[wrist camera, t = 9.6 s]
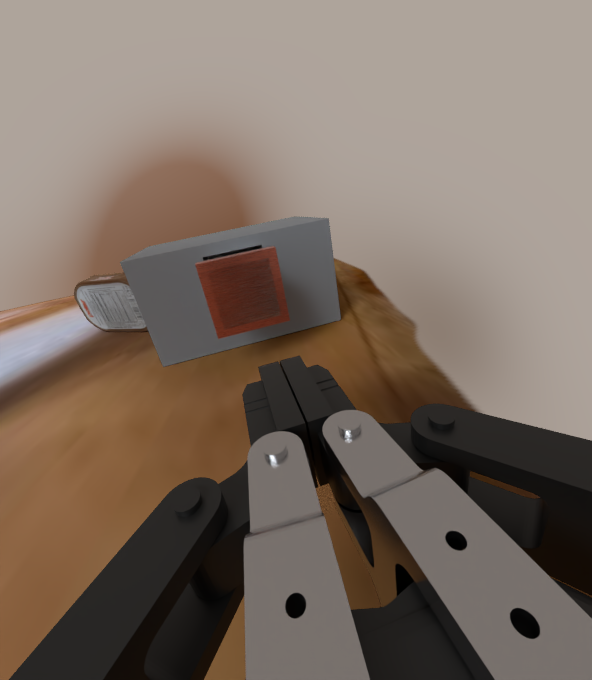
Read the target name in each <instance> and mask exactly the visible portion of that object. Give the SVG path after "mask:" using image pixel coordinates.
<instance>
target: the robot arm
mask: <svg viewBox="0 0 592 680" xmlns="http://www.w3.org/2000/svg"><path fill="white" fill-rule="evenodd" d="M258 368H259V372H260V376H261V380H262V381H258V382H254V383H251V384H247V386H246V388H245V390H244V392H243V394H242V395H243V401H244V407H245V413H246V419H247V425H248V431H249V438H250V444H251V448H250V450H249V453H248V460H247V461H246V463H245V464H244V465H243V467H242V468H241V469H240V470H239V471H237V472H236V473H235V474H233V475H232V476H231V477H229V478H227V479H226V480H224V481H222V482H221V483H219V484H217V482H215V481H214V480H212V479H210V478H201V477H200V478H194V479H191V480H188V481H186V482H184V483H182V484H180V485H178V486H177V487H175V488H174V489H173V490H172V491H171V492H169V494H168V495H167V496H166V497H165V498H164V499H163V500H162V501H161V503H160V504H159V505H158V506H157V507H156V508H155V510H154V511H153V512H152V513H151V514H150V515H149V517H148V518H147V519H146V520H145V521H144V522H143V524H142V525H141V526H140V527H139V528H138V529H137V531H136V532H135V533H134V534H133V535H132V536H131V538H130V539H129V540H128V541H127V542H126V543H125V545H124V546H123V547H122V548H121V549H120V550H119V552H118V553H117V554H116V555H115V556H114V557H113V559H112V560H111V561H110V562H109V563H108V564H107V566H106V567H105V568H104V569H103V570H102V571H101V573H100V574H99V575H98V576H97V577H96V578H95V580H94V581H93V582H92V583H91V584H90V585H89V587H88V588H87V589H86V590H85V591H84V592H83V594H82V595H81V596H80V597H79V598H78V599H77V601H76V602H75V603H74V604H73V605H72V606H71V608H70V609H69V610H68V611H67V612H66V613H65V615H64V616H63V617H62V618H61V619H60V620H59V622H58V623H57V624H56V625H55V626H54V627H53V629H52V630H51V631H50V632H49V633H48V634H47V636H46V637H45V638H44V639H43V640H42V641H41V643H40V644H39V645H38V646H37V647H36V648H35V650H34V651H33V652H32V653H31V654H30V655H29V657H28V658H27V659H26V660H25V661H24V662H23V664H22V665H21V666H20V667H19V668H18V669H17V671H16V672H15V673H14V674H13V675H12V676H11V678H10V679H9V680H204V678H205V676H206V674H207V672H208V670H209V667H210V665H211V663H212V661H213V659H214V657H215V655H216V653H217V651H218V649H219V646H220V644H221V642H222V640H223V638H224V636H225V634H226V632H227V630H228V628H229V626H230V623H231V621H232V619H233V617H234V615H235V613H236V611H237V609H238V607H239V605H240V602H241V600H242V598H243V596H244V597H245V653H246V680H592V598H591V597H589V596H587V595H585V594H583V593H581V592H579V591H577V590H575V589H573V588H571V587H569V586H567V585H565V584H563V583H561V582H559V581H557V580H554V579H551V578H550V577H549V576H552V577H554V578H556V579H558V580H560V581H562V582H564V583H566V584H569V585H571V586H573V587H575V588H577V589H579V590H581V591H583V592H585V593H588V594H590V595H592V441H590V440H586V439H582V438H578V437H574V436H570V435H566V434H562V433H558V432H554V431H550V430H546V429H542V428H538V427H534V426H530V425H526V424H522V423H518V422H513V421H510V420H506V419H502V418H497V417H494V416H489V415H486V414H482V413H478V412H474V411H470V410H466V409H462V408H458V407H454V406H450V405H445V404H428V405H424V406H421V407H419V408H418V409H416V410H415V411H414V412H413V413H412V416H411V423H395V424H383V423H377V422H376V420H375V419H374V418H373V417H371V416H370V415H369V414H367V413H365V412H362V411H357V410H356V408H355V407H354V406H353V404H352V403H351V402H350V400H349V399H348V397H347V396H346V395H345V393H344V392H343V390H342V389H341V388H340V386H338V384H337V382H336V381H335V380H334V378H333V377H332V375H331V374H330V373H329V371H328V370H327V369H325V368H323V367H321V366H319V365H315V366H311V367H306V366H305V364H304V362H303V361H302V359H301V357H300V356H296V357H292V358H289V359H285V360H281V361H280V364H279V362H274V363H271V364H267V365H263V366H260V367H258ZM470 471H473V472H475V473H478V474H481V475H484V476H487V477H490V478H492V479H495V480H498V481H501V482H504V483H507V484H509V485H512V486H515V487H518V488H521V489H523V490H526V491H529V492H532V493H534V494H536V495H538V496H539V497H541V498H537V499H532V498H527V497H524V496H521V495H518V494H515V493H513V492H510V491H507V490H504V489H502V488H499V487H496V486H493V485H491V484H488V483H485V482H483V481H480V480H477V479H474V478H472V477H470ZM316 477H317V479H318V482H319V484H320V486H322V485H325V484H328V483H329V485H330V487H331V489H332V492H333V495H334V500H335V506H336V509H337V511H338V513H339V515H340V517H341V519H342V521H343V523H344V525H345V527H346V529H347V531H348V533H349V535H350V537H351V539H352V541H353V542H354V544H355V546H356V548H357V550H358V552H359V554H360V556H361V558H362V560H363V562H364V564H365V566H366V568H367V570H368V572H369V574H370V576H371V578H372V580H373V583H374V586H375V588H376V592H377V595H378V598H379V601H380V603H381V606H382V607H380V608H370V609H357V610H350V606H349V602H348V599H347V595H346V592H345V588H344V585H343V581H342V577H341V574H340V570H339V567H338V563H337V559H336V556H335V552H334V549H333V545H332V542H331V538H330V534H329V531H328V527H327V524H326V520H325V517H324V514H323V512H322V511H321V508H320V504H319V500H318V497H317V493H316V489H315V488H317V487H318V484H317V479H316ZM548 575H549V576H548Z"/></svg>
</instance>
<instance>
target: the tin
mask: <svg viewBox="0 0 592 680" xmlns="http://www.w3.org/2000/svg"><path fill="white" fill-rule="evenodd" d="M74 297H75V300H76V301H77V303H78V305H79V307H80V309H81V310H82V312H83V313H84V315H85V317H86V318H87V320H88V321H89V322H90V323H92V324H93V325H94V326H96V327H97V328H99V329H101V330H104V331H108V332H145V331H148V329H147V326H146V324H145V322H144V319H143V317H142V314H141V312H140V310H139V307H138V305H137V302H136V300H135V297H134V295H133V293H132V290H131V288H130V285H129V283H128V281H127V278H126V276H125V273H115V274H103V275H94V276H92V277H90V278H89V279H86V280H84V281H82V282H80V283H78V284H77V285H76V287H75V291H74Z"/></svg>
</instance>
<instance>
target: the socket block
mask: <svg viewBox="0 0 592 680" xmlns="http://www.w3.org/2000/svg"><path fill="white" fill-rule="evenodd" d="M253 246H255V247H256V248H257V249H261V248H266V247H270V246H274V247H276V252H277V257H278V262H279V267H280V273H281V278H282V283H283V288H284V293H285V298H286V303H287V308H288V313H289V318H290V321H287V322H283V323H279V324H275V325H271V326H267V327H263V328H259V329H256V330H252V331H248V332H244V333H240V334H236V335H232V336H228V337H225V338H221V339H218V336H217V333H216V330H215V327H214V324H213V320H212V317H211V314H210V311H209V308H208V304H207V301H206V298H205V295H204V292H203V288H202V285H201V282H200V279H199V276H198V272H197V269H196V266H195V264H196V263H197V262H202V261H206V260H208V256H211V255H216V254H221V253H225V252H230V251H235V250H239V249H244V248H248V247H253ZM120 263H121V266H122V268H123V271H124V273H125V276H126V278H127V281H128V283H129V285H130V288H131V290H132V293H133V295H134V297H135V300H136V302H137V305H138V307H139V310H140V312H141V314H142V317H143V319H144V322H145V324H146V326H147V329H148V331H149V334H150V336H151V339H152V341H153V343H154V346H155V348H156V351H157V353H158V356H159V358H160V360H161V363H162V365H163V367H164V366H168V365H172V364H176V363H180V362H183V361H187V360H191V359H195V358H198V357H202V356H206V355H210V354H214V353H217V352H221V351H225V350H229V349H232V348H236V347H240V346H244V345H248V344H251V343H255V342H259V341H263V340H266V339H270V338H274V337H278V336H282V335H285V334H289V333H293V332H297V331H300V330H304V329H308V328H312V327H316V326H319V325H323V324H327V323H331V322H334V321H338V320H341V315H340V307H339V299H338V291H337V283H336V275H335V267H334V259H333V250H332V243H331V235H330V226H329V219H328V218H311V217H291V218H285V219H281V220H276V221H271V222H266V223H262V224H256V225H251V226H247V227H242V228H237V229H232V230H227V231H222V232H218V233H213V234H208V235H203V236H198V237H193V238H188V239H183V240H179V241H174V242H169V243H164V244H159V245H154V246H149V247H147V248H145V249H143V250H142V251H140V252H138V253H136V254H134V255H132V256H131V257H129V258H127V259H125V260H123V261H121V262H120Z"/></svg>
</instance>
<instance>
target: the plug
mask: <svg viewBox="0 0 592 680" xmlns="http://www.w3.org/2000/svg"><path fill="white" fill-rule="evenodd" d="M195 266H196V269H197V272H198V276H199V279H200V282H201V285H202V288H203V292H204V295H205V298H206V301H207V304H208V308H209V311H210V314H211V317H212V320H213V324H214V327H215V330H216V333H217V336H218V339H221V338H225V337H228V336H232V335H236V334H240V333H244V332H248V331H252V330H256V329H259V328H263V327H267V326H271V325H275V324H279V323H283V322H287V321H290V318H289V313H288V308H287V303H286V298H285V293H284V288H283V283H282V278H281V273H280V267H279V262H278V257H277V252H276V247H274V246H270V247H266V248H261V249H257V248H256V247H255V246H253V247H248V248H244V249H239V250H235V251H230V252H225V253H221V254H216V255H211V256H208V260H206V261H202V262H197V263H196V264H195Z"/></svg>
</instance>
